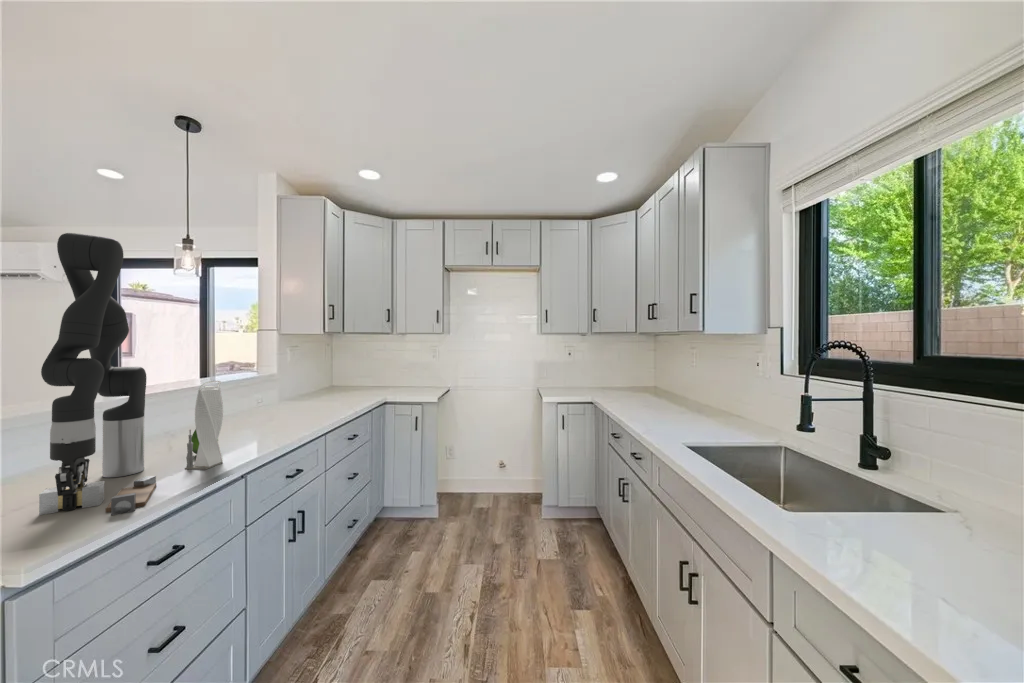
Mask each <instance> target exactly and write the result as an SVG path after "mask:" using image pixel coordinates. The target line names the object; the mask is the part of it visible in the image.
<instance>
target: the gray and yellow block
mask: <svg viewBox="0 0 1024 683" xmlns="http://www.w3.org/2000/svg"><path fill="white" fill-rule="evenodd" d="M67 489H69V487H67V488H66V490H67ZM38 497H39V499H38V503H39V504H38V510H39V511H38V515H39V516H42V515H48V514H55V513H58V512H60V511H61V510H63V509H62V507H63V496H58V494H57V486H56V487H51V488H50V487H49V488H45V489H44V490H43V491H42V492H40V493H39V495H38ZM104 501H105V480H99V481H93V482H86V483H85V486H82V487H77V507H80V506H81V508H82V509H83V508H84V509H85V508H89V507H90V508H91V507H96V506H97V507H98V506H100V505H101V504H102V503H103V502H104Z"/></svg>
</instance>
